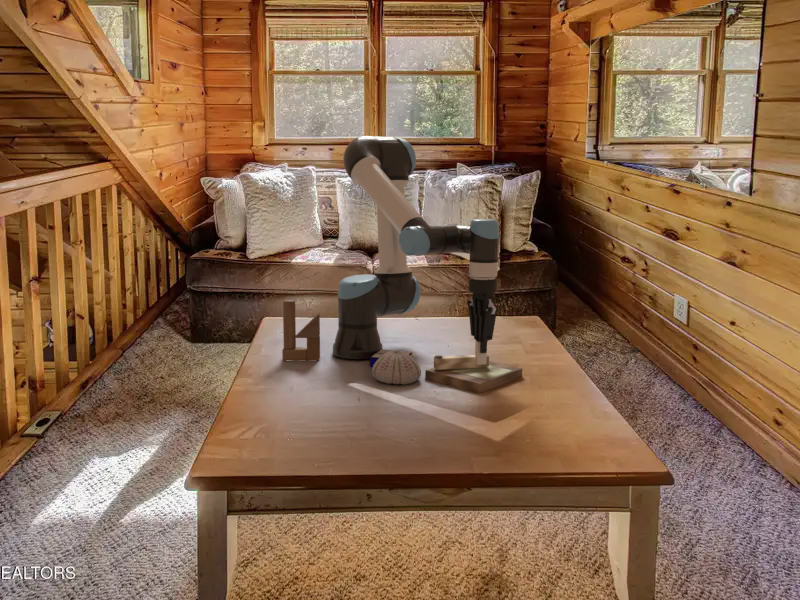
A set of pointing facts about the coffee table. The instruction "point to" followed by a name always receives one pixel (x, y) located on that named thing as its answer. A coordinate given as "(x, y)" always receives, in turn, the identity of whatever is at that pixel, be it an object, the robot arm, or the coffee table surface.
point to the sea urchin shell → (396, 368)
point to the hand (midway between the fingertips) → (480, 363)
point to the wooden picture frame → (475, 376)
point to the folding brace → (457, 362)
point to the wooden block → (299, 335)
